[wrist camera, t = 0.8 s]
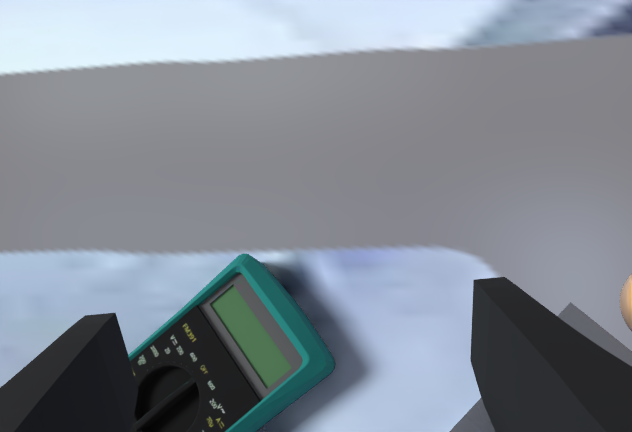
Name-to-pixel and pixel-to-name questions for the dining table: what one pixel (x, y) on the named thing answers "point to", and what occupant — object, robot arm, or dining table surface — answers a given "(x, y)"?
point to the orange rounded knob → (627, 302)
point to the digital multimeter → (228, 357)
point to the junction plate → (477, 424)
